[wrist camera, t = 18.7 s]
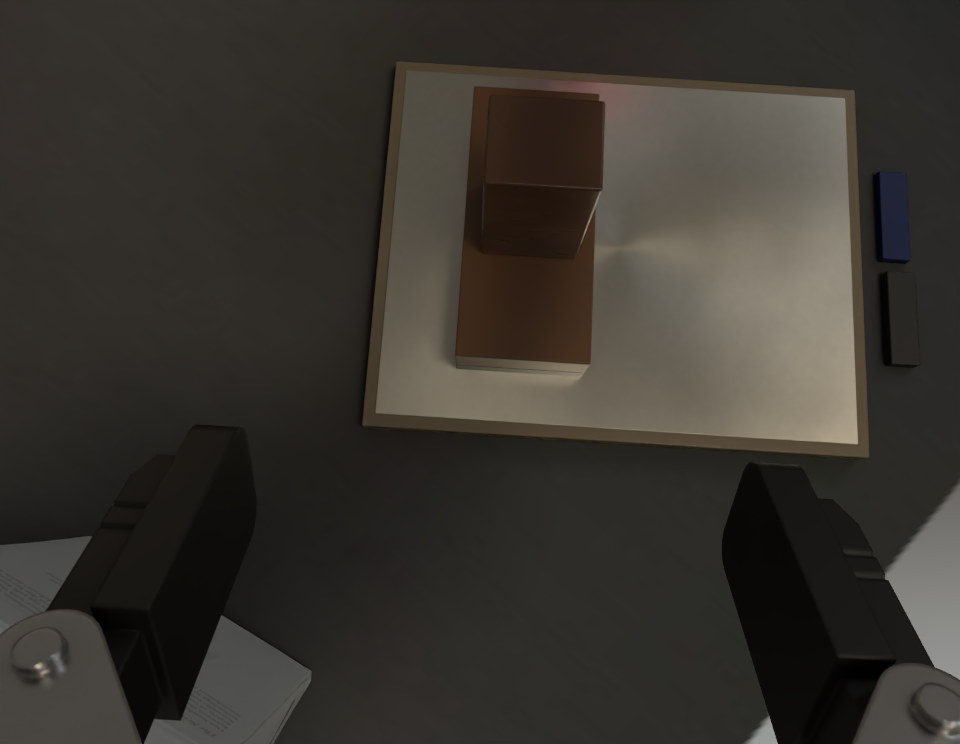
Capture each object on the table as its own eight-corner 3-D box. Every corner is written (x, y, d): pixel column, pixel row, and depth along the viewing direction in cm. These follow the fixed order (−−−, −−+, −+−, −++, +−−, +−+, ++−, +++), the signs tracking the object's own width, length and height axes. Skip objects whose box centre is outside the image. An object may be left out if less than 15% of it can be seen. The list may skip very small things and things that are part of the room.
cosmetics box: (-10, 686, 28) (-281, 776, 18) (91, 533, 30) (-110, 536, 19) (224, 836, 28) (77, 1021, 17) (318, 672, 29) (233, 754, 18)
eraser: (456, 369, 30) (450, 310, 22) (473, 117, 32) (474, -23, 24) (581, 377, 30) (623, 321, 22) (590, 124, 32) (631, -13, 24)
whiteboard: (364, 428, 31) (361, 425, 30) (398, 72, 34) (395, 59, 33) (858, 459, 31) (871, 457, 30) (845, 101, 34) (856, 88, 33)
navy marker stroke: (911, 260, 32) (904, 264, 32) (906, 173, 33) (900, 178, 33) (882, 258, 32) (876, 262, 32) (879, 171, 33) (873, 176, 33)
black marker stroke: (921, 365, 31) (913, 368, 31) (915, 272, 32) (908, 276, 32) (891, 363, 31) (884, 366, 31) (887, 270, 32) (880, 274, 32)
